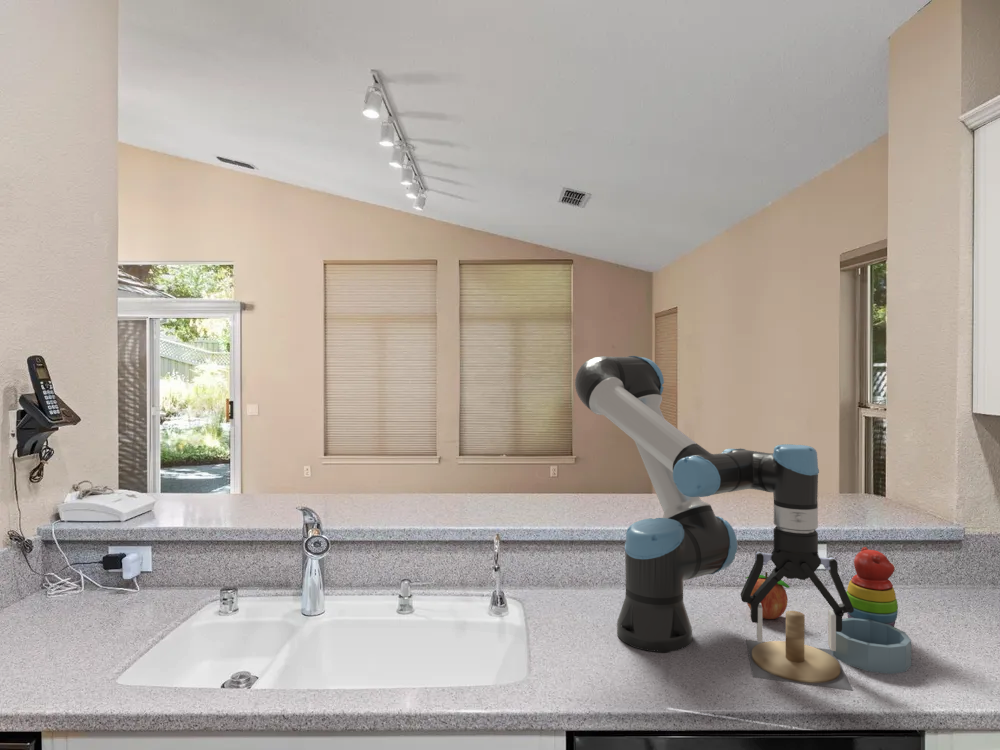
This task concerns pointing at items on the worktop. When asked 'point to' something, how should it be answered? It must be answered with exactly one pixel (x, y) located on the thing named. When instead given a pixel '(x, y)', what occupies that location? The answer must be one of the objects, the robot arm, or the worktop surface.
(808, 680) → the lid
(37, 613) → the worktop surface
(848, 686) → the mat
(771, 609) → the fruit
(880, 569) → the stacking bear
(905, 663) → the bowl
